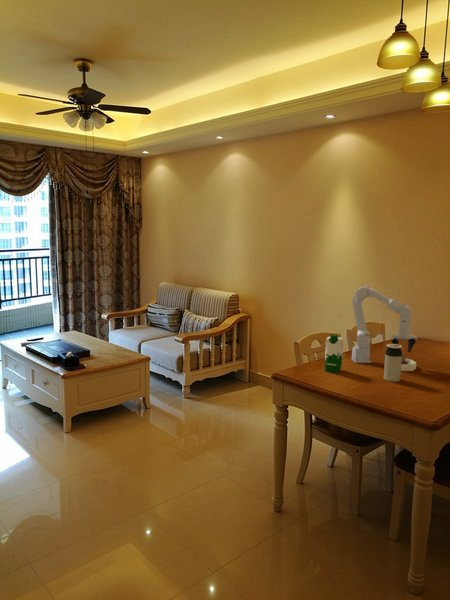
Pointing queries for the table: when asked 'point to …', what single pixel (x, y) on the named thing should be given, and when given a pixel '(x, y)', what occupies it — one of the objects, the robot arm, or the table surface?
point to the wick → (403, 358)
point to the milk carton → (333, 353)
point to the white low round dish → (408, 365)
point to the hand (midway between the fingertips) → (402, 352)
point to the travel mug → (393, 363)
